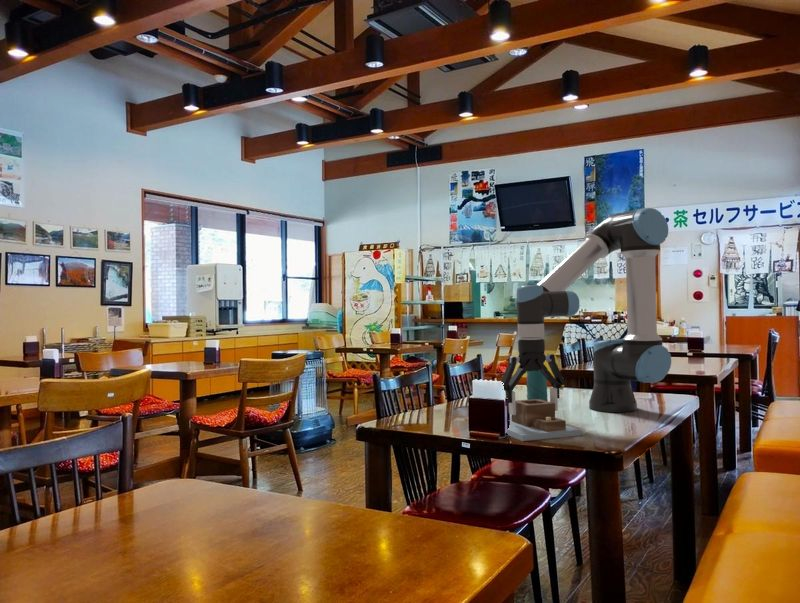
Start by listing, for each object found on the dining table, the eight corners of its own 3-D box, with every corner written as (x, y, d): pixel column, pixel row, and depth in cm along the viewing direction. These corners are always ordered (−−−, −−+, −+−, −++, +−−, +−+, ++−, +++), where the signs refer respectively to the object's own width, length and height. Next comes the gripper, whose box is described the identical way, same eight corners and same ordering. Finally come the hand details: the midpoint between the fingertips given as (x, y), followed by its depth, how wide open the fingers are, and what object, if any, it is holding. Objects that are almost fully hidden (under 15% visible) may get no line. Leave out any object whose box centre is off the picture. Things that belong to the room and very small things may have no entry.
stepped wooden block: (511, 421, 180) (511, 400, 180) (538, 419, 182) (538, 398, 182) (541, 432, 164) (540, 409, 164) (570, 429, 167) (570, 407, 167)
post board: (544, 422, 184) (543, 401, 184) (581, 435, 166) (580, 411, 166) (490, 427, 179) (489, 405, 179) (522, 441, 161) (521, 416, 161)
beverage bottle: (547, 417, 193) (545, 353, 193) (550, 421, 186) (548, 355, 186) (525, 417, 193) (524, 353, 193) (528, 421, 187) (526, 355, 187)
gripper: (561, 335, 184) (563, 406, 184) (486, 340, 177) (488, 413, 177) (576, 337, 177) (578, 410, 177) (498, 341, 169) (500, 418, 169)
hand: (533, 412), depth 177 cm, fingers open, 13 cm apart
